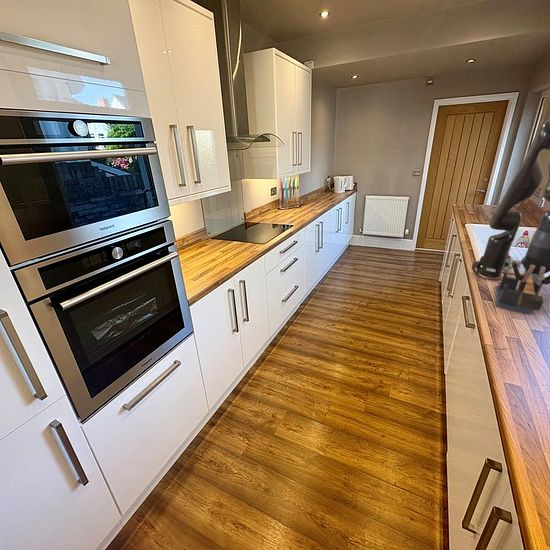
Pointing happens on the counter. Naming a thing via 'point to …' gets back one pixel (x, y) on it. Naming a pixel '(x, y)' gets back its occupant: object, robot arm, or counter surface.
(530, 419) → the counter surface
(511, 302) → the rack
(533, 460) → the counter surface
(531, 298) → the brush
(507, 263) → the knee model
